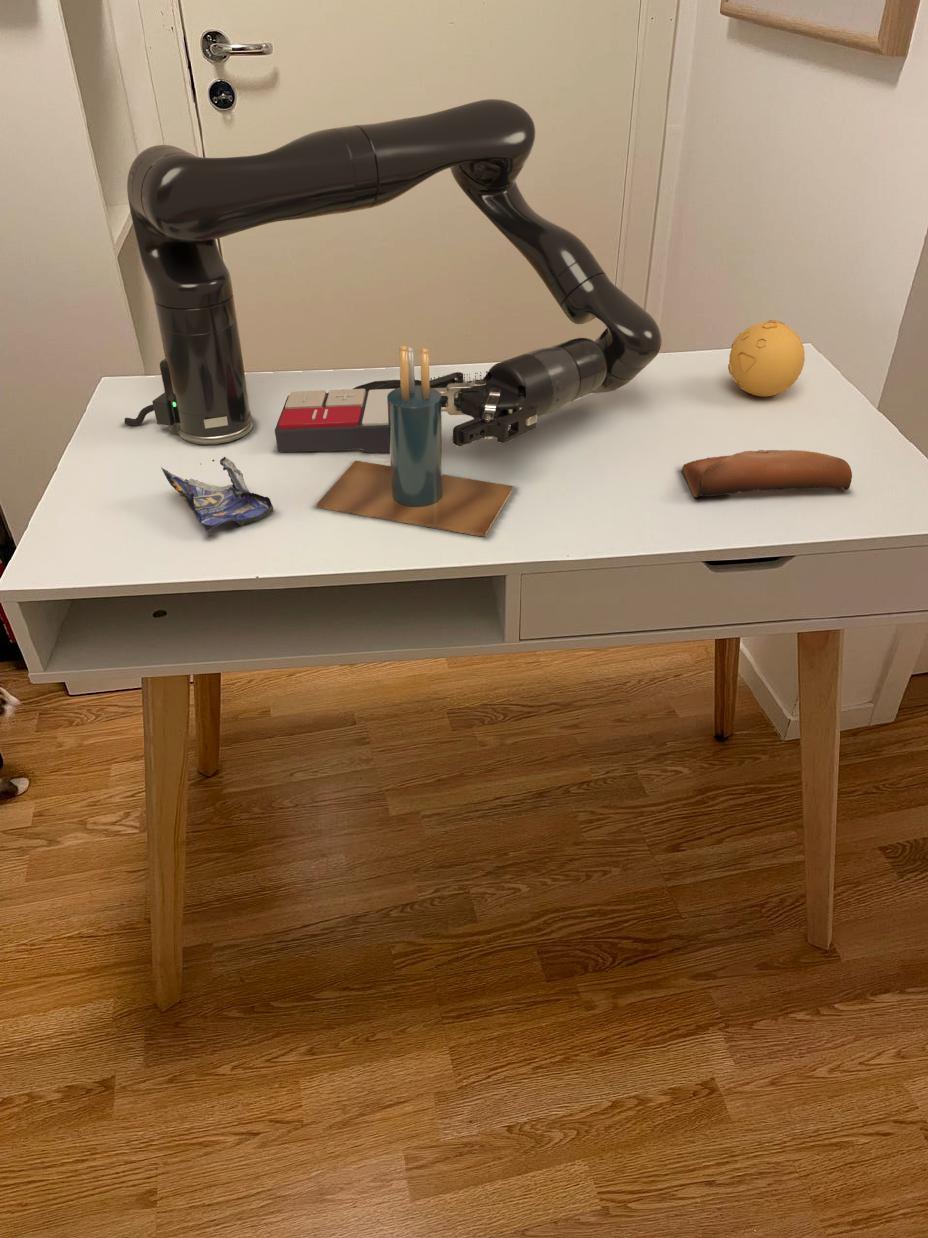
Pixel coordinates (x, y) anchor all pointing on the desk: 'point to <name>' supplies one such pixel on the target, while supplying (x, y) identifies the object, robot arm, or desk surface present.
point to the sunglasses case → (766, 472)
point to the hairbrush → (397, 384)
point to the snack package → (221, 499)
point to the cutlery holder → (415, 435)
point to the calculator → (334, 421)
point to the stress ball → (766, 358)
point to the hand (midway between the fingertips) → (429, 424)
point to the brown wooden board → (457, 510)
